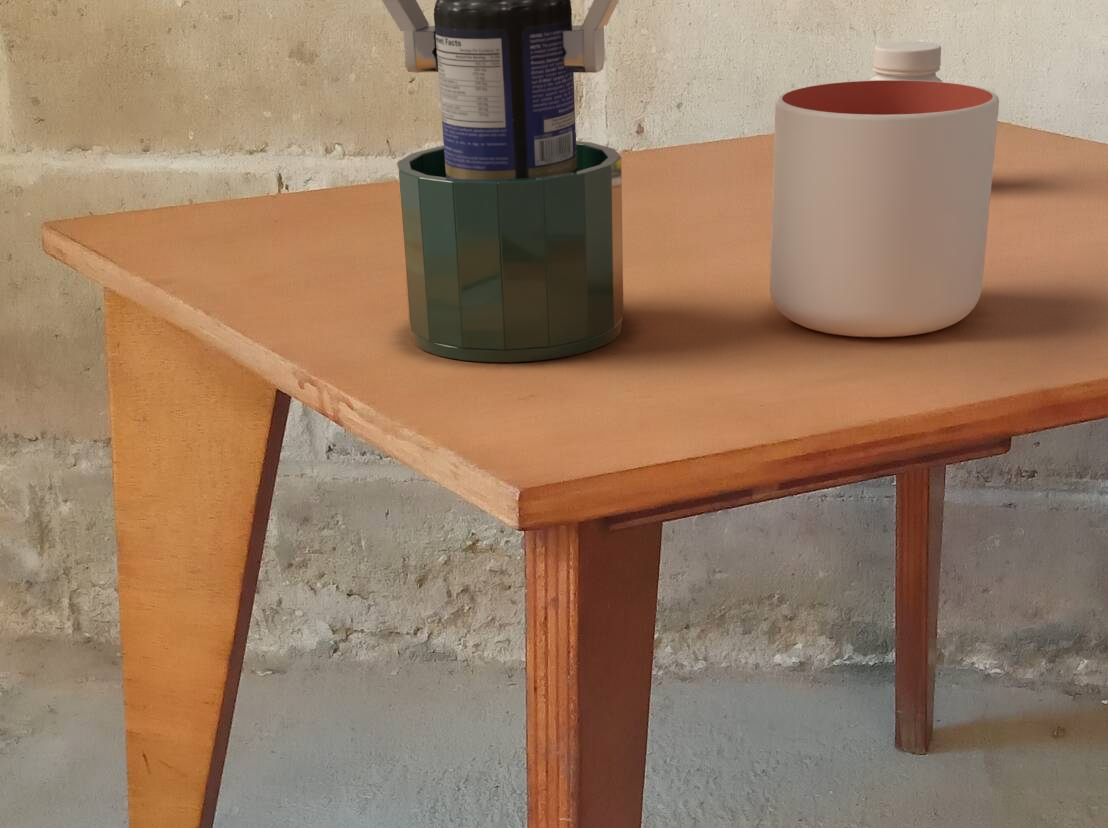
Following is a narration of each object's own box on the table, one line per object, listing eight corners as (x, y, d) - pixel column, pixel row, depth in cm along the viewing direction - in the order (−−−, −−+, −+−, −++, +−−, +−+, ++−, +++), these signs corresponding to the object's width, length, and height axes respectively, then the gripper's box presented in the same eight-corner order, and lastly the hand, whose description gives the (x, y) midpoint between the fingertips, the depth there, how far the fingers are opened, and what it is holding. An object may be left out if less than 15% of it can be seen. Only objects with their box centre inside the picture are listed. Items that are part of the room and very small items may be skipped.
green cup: (642, 306, 85) (641, 139, 81) (592, 367, 76) (588, 184, 72) (449, 299, 87) (438, 137, 84) (380, 357, 79) (365, 179, 75)
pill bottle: (558, 171, 82) (549, -82, 76) (594, 196, 77) (587, -74, 71) (433, 183, 81) (415, -74, 75) (461, 209, 76) (444, -65, 70)
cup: (765, 344, 79) (772, 117, 74) (771, 288, 87) (777, 81, 82) (987, 346, 77) (1009, 114, 72) (971, 288, 86) (989, 77, 81)
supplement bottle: (851, 195, 106) (858, 50, 101) (868, 179, 109) (876, 39, 105) (928, 199, 104) (939, 51, 100) (943, 183, 108) (954, 40, 103)
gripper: (223, -279, 69) (264, 81, 76) (718, -306, 64) (714, 82, 71) (284, -276, 75) (317, 60, 81) (746, -302, 69) (740, 60, 76)
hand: (506, 71), depth 76 cm, fingers closed on pill bottle, 6 cm apart
